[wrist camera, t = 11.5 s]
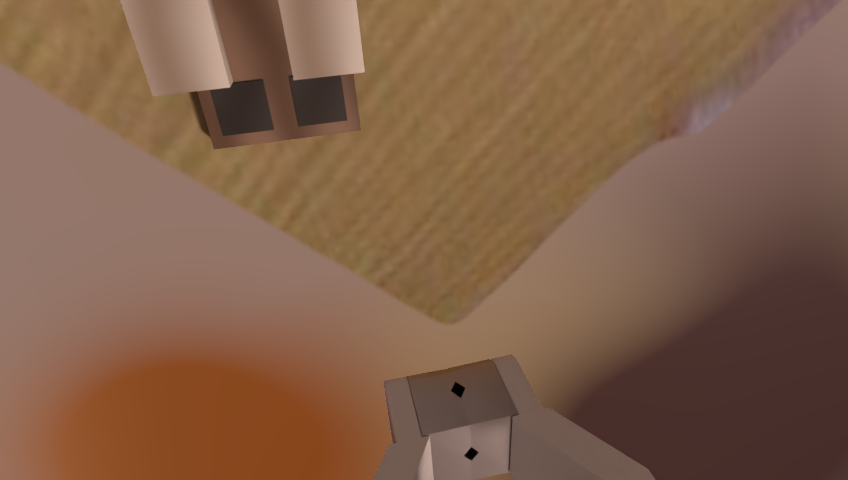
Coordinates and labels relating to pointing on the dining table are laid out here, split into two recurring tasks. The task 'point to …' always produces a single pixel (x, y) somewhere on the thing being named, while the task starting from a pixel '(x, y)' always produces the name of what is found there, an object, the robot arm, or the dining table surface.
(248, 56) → the tunnel track
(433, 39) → the dining table surface
